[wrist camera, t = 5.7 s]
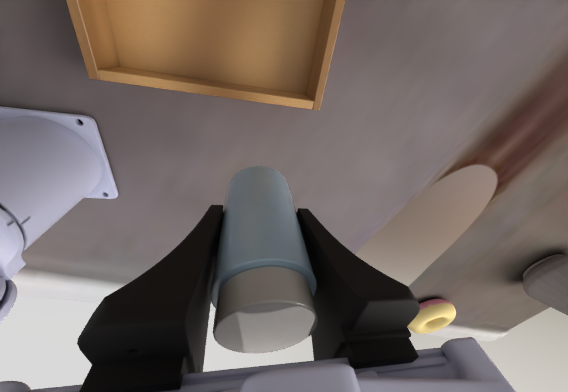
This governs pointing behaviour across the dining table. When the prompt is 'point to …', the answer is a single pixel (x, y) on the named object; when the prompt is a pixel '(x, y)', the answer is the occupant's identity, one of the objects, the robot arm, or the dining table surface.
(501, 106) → the dining table surface
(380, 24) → the dining table surface
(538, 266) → the coffee pot
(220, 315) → the shaker
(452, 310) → the donut
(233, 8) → the wooden tray
